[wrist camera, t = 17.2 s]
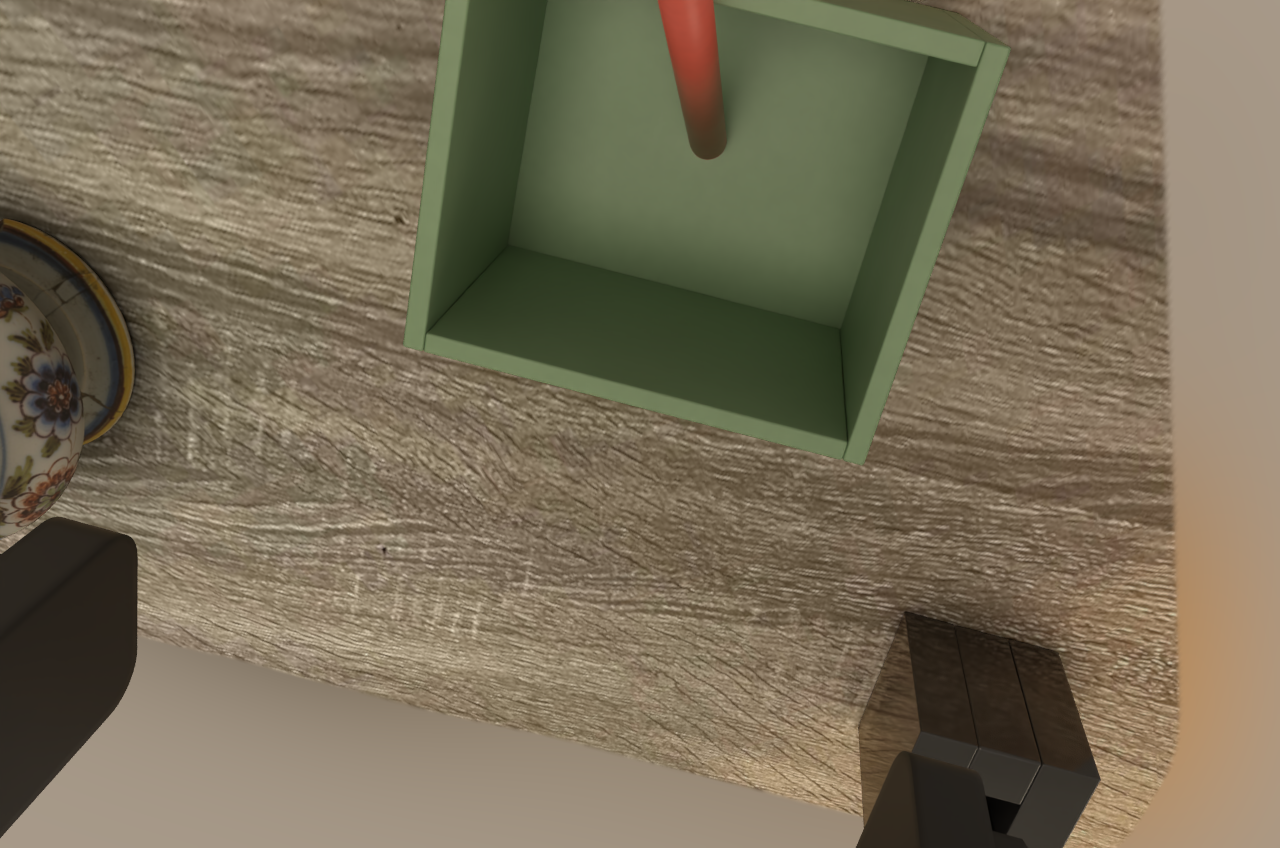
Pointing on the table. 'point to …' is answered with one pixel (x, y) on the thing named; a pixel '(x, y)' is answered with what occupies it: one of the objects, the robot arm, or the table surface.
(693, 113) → the red rod
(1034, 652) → the holder
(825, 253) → the bin
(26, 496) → the apothecary jar
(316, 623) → the table surface
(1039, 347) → the table surface
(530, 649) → the table surface
